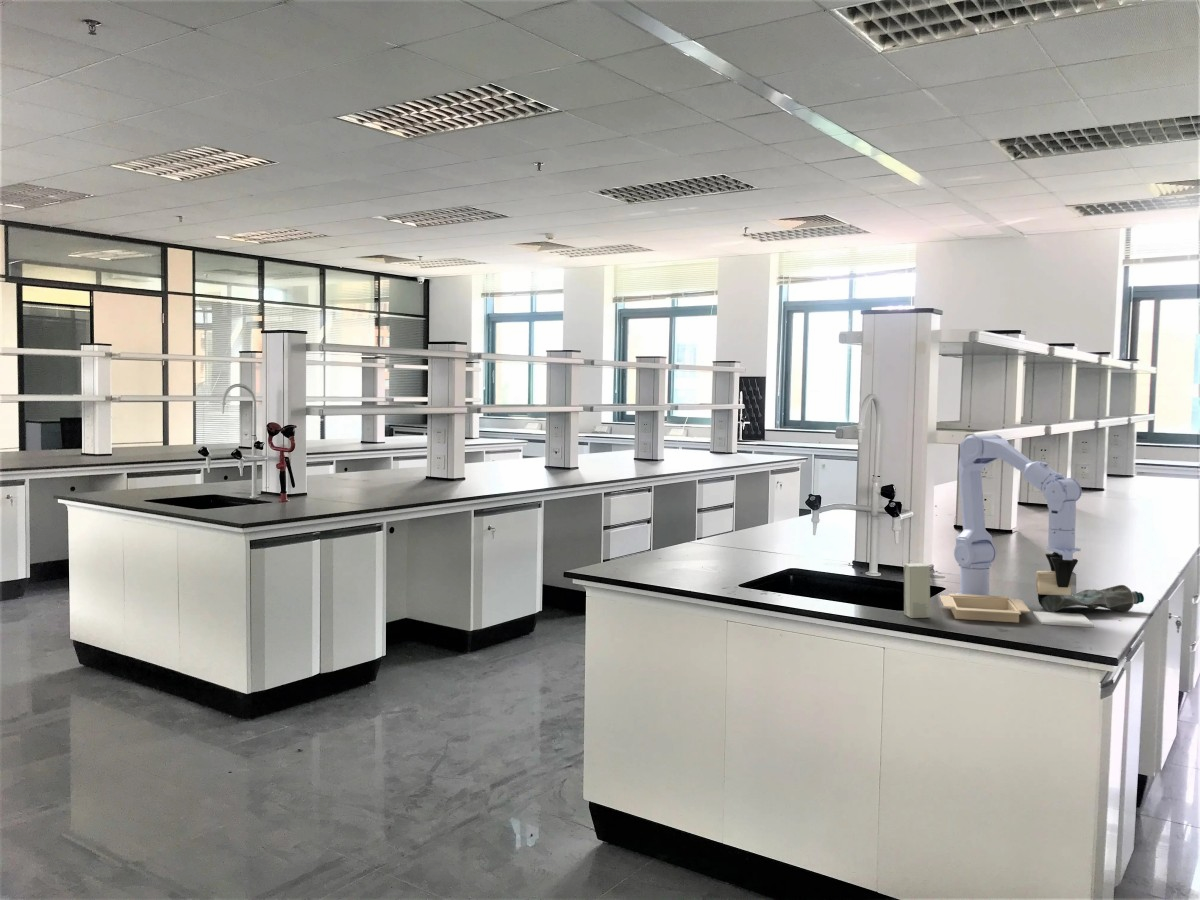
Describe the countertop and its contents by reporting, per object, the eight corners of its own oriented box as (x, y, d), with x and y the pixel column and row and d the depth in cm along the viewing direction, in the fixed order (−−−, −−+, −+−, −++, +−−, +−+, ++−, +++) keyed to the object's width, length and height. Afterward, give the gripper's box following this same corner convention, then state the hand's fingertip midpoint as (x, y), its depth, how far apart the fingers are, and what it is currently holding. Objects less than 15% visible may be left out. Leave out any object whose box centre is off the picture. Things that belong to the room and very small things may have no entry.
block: (1036, 591, 217) (1035, 570, 217) (1072, 591, 215) (1072, 571, 214) (1039, 594, 213) (1039, 573, 213) (1076, 595, 211) (1076, 574, 211)
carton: (938, 603, 232) (938, 592, 232) (1018, 607, 227) (1018, 597, 227) (945, 620, 214) (945, 608, 214) (1032, 625, 209) (1032, 613, 208)
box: (923, 614, 220) (924, 562, 220) (930, 618, 216) (931, 565, 216) (902, 614, 220) (903, 562, 220) (909, 618, 216) (909, 566, 215)
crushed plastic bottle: (1051, 616, 217) (1157, 616, 215) (1050, 587, 218) (1156, 586, 216) (1029, 609, 230) (1129, 608, 229) (1028, 581, 231) (1128, 580, 229)
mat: (1033, 613, 220) (1033, 611, 220) (1082, 616, 217) (1082, 614, 217) (1041, 624, 210) (1042, 621, 210) (1093, 627, 207) (1093, 624, 207)
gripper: (1087, 533, 205) (1086, 592, 205) (1073, 525, 219) (1072, 580, 219) (1054, 532, 207) (1052, 590, 207) (1041, 524, 221) (1040, 579, 221)
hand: (1060, 585), depth 213 cm, fingers closed on block, 4 cm apart
